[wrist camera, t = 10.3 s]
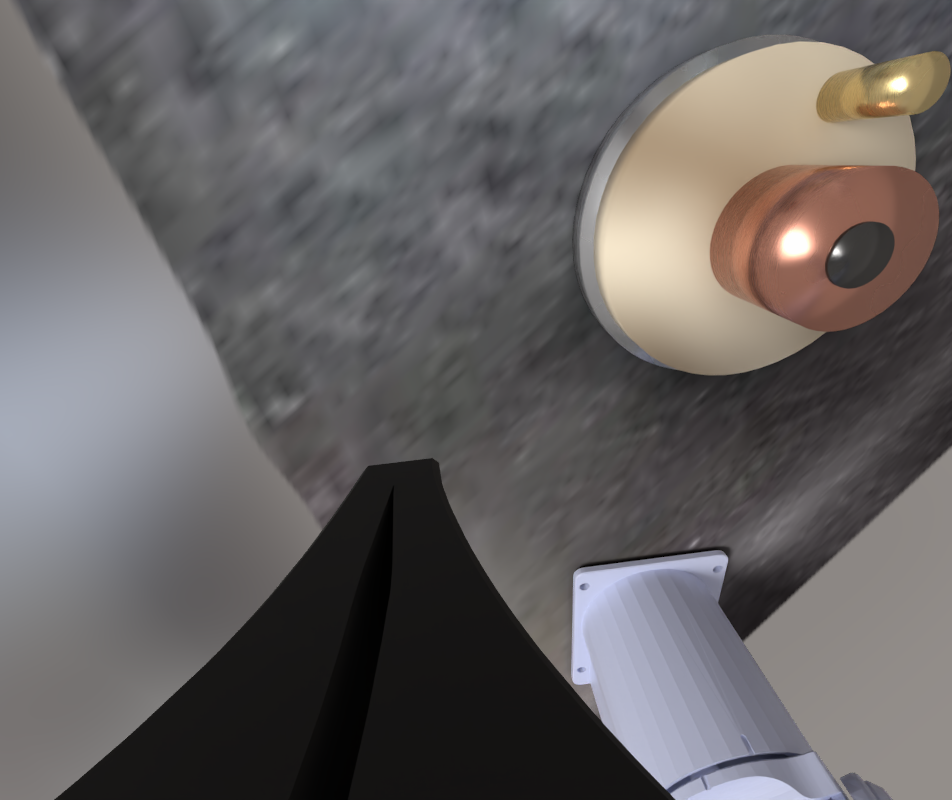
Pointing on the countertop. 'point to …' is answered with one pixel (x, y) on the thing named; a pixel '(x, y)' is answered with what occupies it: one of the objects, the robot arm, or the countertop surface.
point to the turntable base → (608, 157)
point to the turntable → (724, 172)
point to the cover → (825, 241)
